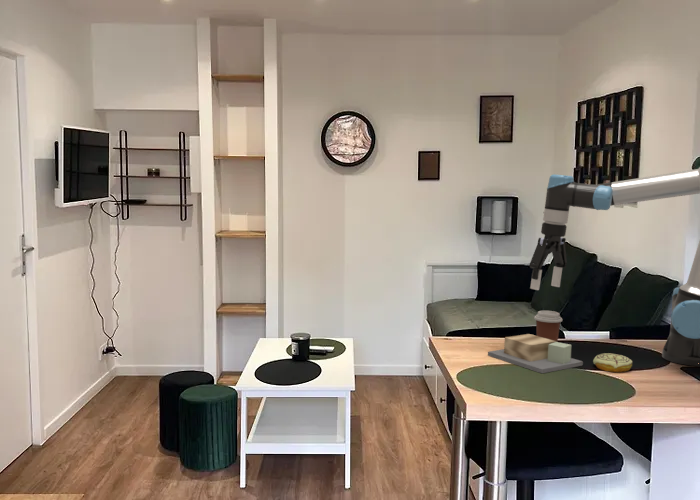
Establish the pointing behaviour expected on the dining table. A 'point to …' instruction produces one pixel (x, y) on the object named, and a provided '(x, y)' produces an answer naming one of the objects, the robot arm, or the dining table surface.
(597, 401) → the dining table surface
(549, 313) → the coffee cup
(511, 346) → the oak plinth
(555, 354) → the sage cube
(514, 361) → the build board
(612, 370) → the decorated donut
